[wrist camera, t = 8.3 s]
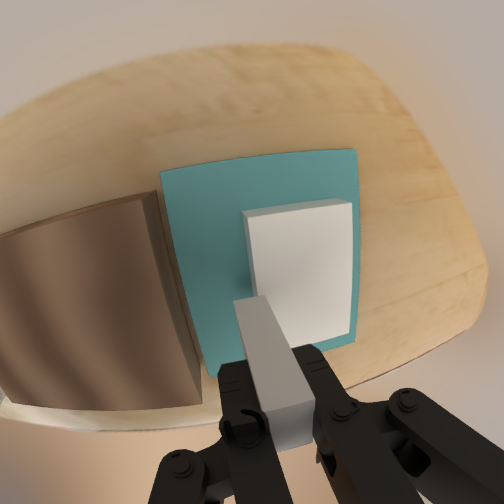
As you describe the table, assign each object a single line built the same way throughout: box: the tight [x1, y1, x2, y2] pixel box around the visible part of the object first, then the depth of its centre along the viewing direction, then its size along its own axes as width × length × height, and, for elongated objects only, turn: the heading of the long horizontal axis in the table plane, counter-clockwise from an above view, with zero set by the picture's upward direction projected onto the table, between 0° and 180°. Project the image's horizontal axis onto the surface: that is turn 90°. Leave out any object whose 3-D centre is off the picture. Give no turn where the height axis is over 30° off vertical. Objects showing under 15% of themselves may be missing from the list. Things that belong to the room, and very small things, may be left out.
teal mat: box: [160, 149, 360, 377], centre depth 18 cm, size 12×15×1 cm
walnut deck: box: [0, 190, 202, 411], centre depth 14 cm, size 18×13×4 cm
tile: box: [242, 198, 353, 348], centre depth 17 cm, size 6×9×2 cm, turn 7°
